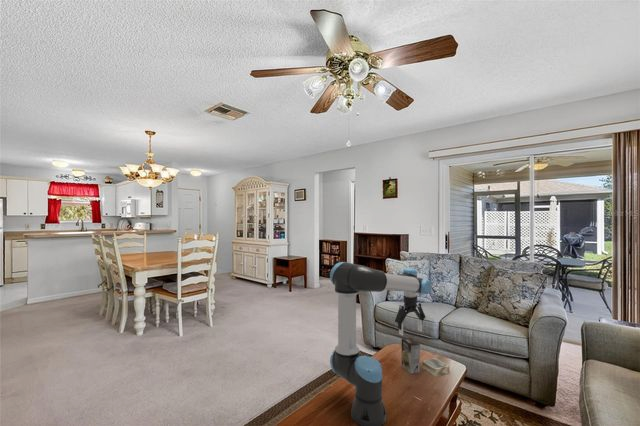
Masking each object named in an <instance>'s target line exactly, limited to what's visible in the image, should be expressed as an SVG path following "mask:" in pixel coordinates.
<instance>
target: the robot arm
mask: <svg viewBox="0 0 640 426" xmlns="http://www.w3.org/2000/svg"><path fill="white" fill-rule="evenodd" d="M329 280H330V282H331V284H332V285H334V292H335V293H336V295H337V340H338V341H337V345H336V346H335V347H334V350H333V351H332V353H331V354H330V358H329V359H330V360H329V364H330V368H331V370H332V372H333V373H334V374H336V375H337V376H338V377H339V378H342V379H344V380H345V381H346V382H348V383H350V384H351V385H352V386H354V397H353V401H352V405H351V408H350V416H351V419H352V420H353V422H354V423H355V424H357V425H359V426H383V425H384V424H385V423H386V421H387V410H386V407H385V404H384V401H383V369H382V365H381V363H380V362H379V360H377V359H376V358H374V357H372V356H367V355H360V347H359V346H358V345H357V295H358V294H359V293H360V292H363V293H364V292H365V293H366V292H370V293H373V292H376V293H382V292H383V291H391V292H392V291H393V292H403V293H402V294H403V304H399V306H398V312H397V314H396V316H395V319H394V322H395V323H396V324H397V329H398V335H399V336H404V324H403V322H404V320H405V319H406V317H407V315H408V314H410V313H414V314H415V315H416V317H417V331H418V332H420V333H422V332H423V325H424V324H423V323H424V322H423V321H425V319H426V315H425V312H424V310H423V307H422V303H421V302H418V294H421V295H428V294H430V293H431V292H432V287H433V285H432V282H431V281H430V279H426V278H421V277H418V271H417V269H416V268H411V267H410V268H409V267H405V268H403V272H402V273H398V274H396V273H395V274H392V273H385V272H384V271H382V270H379V269H374V268H371V267H368V266H366V265H361V264H357V263H351V262H348V261H347V262H346V261H340V262H337V263H335V264H334V266H332V268H331V270H330V273H329Z"/></svg>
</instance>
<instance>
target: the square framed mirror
mask: <svg viewBox="0 0 640 426" xmlns="http://www.w3.org/2000/svg"><path fill="white" fill-rule="evenodd" d="M422 369H423V370H424V371H426V372H427V373H429V374H430V375H432V376H434V377H435V378H436V377H441V376H443V375H448V374H450V365H448V364H447V363H445V362H443V361H442V360H441V359H439V358H436V357H434V358H431V359H426V360H422Z"/></svg>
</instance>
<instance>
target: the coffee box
mask: <svg viewBox="0 0 640 426" xmlns="http://www.w3.org/2000/svg"><path fill="white" fill-rule="evenodd" d="M420 344H421V343H419V342H418V341H416V340H415V339H414V338H412V337H403V338H401V367H402V368H403V369H405V370H406V371H407V372H408V373H409V374H417V373H420V371H421V370H420V369H421V367H420V365H421V363H420V359H421V358H420V356H421V355H420V354H421V352H420V350H421V349H420V348H421V346H420Z"/></svg>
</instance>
